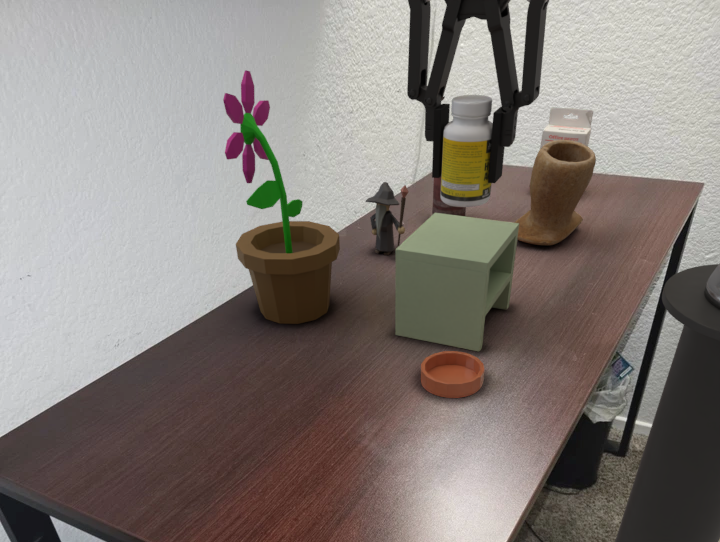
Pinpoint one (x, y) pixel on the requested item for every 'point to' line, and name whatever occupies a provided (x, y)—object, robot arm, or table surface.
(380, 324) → the table surface
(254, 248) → the flowerpot
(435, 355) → the holder
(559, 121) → the ink cartridge box
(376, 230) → the wizard figurine
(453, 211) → the can
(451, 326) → the shelf
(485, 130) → the supplement bottle
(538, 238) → the stone cup
